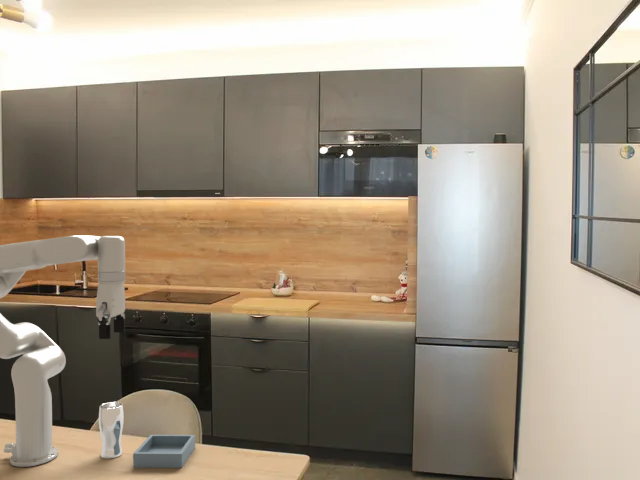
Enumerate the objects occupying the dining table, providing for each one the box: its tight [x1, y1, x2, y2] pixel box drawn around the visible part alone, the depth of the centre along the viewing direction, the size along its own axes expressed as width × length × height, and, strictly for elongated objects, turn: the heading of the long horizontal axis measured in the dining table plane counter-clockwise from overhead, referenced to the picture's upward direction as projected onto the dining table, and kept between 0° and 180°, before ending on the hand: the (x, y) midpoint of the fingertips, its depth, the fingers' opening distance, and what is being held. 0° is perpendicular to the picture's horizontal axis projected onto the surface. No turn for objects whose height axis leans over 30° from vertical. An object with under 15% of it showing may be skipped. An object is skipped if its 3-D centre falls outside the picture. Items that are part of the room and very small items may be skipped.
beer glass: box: [98, 401, 125, 460], centre depth 157 cm, size 7×7×15 cm
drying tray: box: [132, 434, 196, 469], centre depth 155 cm, size 14×14×4 cm
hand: (112, 335), depth 153 cm, fingers open, 9 cm apart
